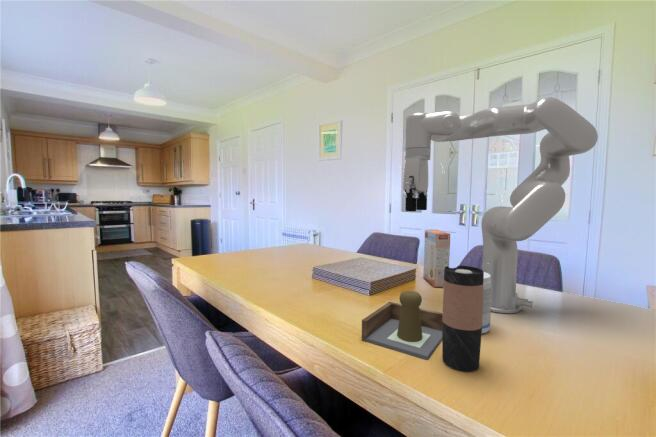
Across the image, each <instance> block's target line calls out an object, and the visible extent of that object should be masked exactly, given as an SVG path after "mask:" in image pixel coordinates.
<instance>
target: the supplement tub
mask: <svg viewBox="0 0 656 437" xmlns="http://www.w3.org/2000/svg"><path fill="white" fill-rule="evenodd" d="M491 313H492V311H491V275H490V274H488V273H486V272H484V281H483V314H482V334H486V333H487V332H489V331H490V329H491Z"/></svg>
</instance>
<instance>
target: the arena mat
mask: <svg viewBox="0 0 656 437" xmlns="http://www.w3.org/2000/svg"><path fill="white" fill-rule="evenodd" d="M398 326H399V320H396V319H390V320H389V321H387V322H386V323H385V324H383V325H382V326H381V327H380V328H378V329H377V330H376V331H375V332H373V333H372V334H371V335H370V336H368V337H367V338H366V340H365V341H364V340H362V341H363V342H366V343H370V344H373V345H376V346H380V347H383V348H387V349H390V350H393V351H397V352H400V353H403V354H407V355H409V356H413V357H416V358H419V359H423V360H426V361H428V360H429V358H430V357H431V356H432V355H433V353H434V352H435V351H436V349H437V348H438V347H439V345H440V344H441V343H442V331H441V330H437V329H433V328H428V327H424V326H421V327H422V336H423V338H422V340H421V341H418V342H408V341H404V340H401V339H399V338H398V336H397V332H398ZM363 339H365V338H363Z"/></svg>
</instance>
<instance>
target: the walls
mask: <svg viewBox="0 0 656 437" xmlns="http://www.w3.org/2000/svg"><path fill="white" fill-rule="evenodd" d="M401 307H402V304H401V303H396V302H391V301H388V302H387V303H385V304H384V305H382V306H380V307H379V308H377V309H376V310H375V311H373V312H372V313H370V314H369V315H367V316H366V317H364V318H363V319H361V341H363V340H364V341H363V342H366V341H365V340H366V338H367V337H368V336H370V335H371V334H372V333H373V332H375V331H376V330H377V329H378V328H380V327H381V326H382V325H383V324H385V323H386V322H387V321H389V320H390V319H396V320H399V319H400V313H401ZM419 309H420V318H421V326H424V327H428V328H433V329H437V330H441V331H442V316H443V312H440V311H435V310H430V309H426V308H422V307H419ZM363 338H365V339H363Z"/></svg>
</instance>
